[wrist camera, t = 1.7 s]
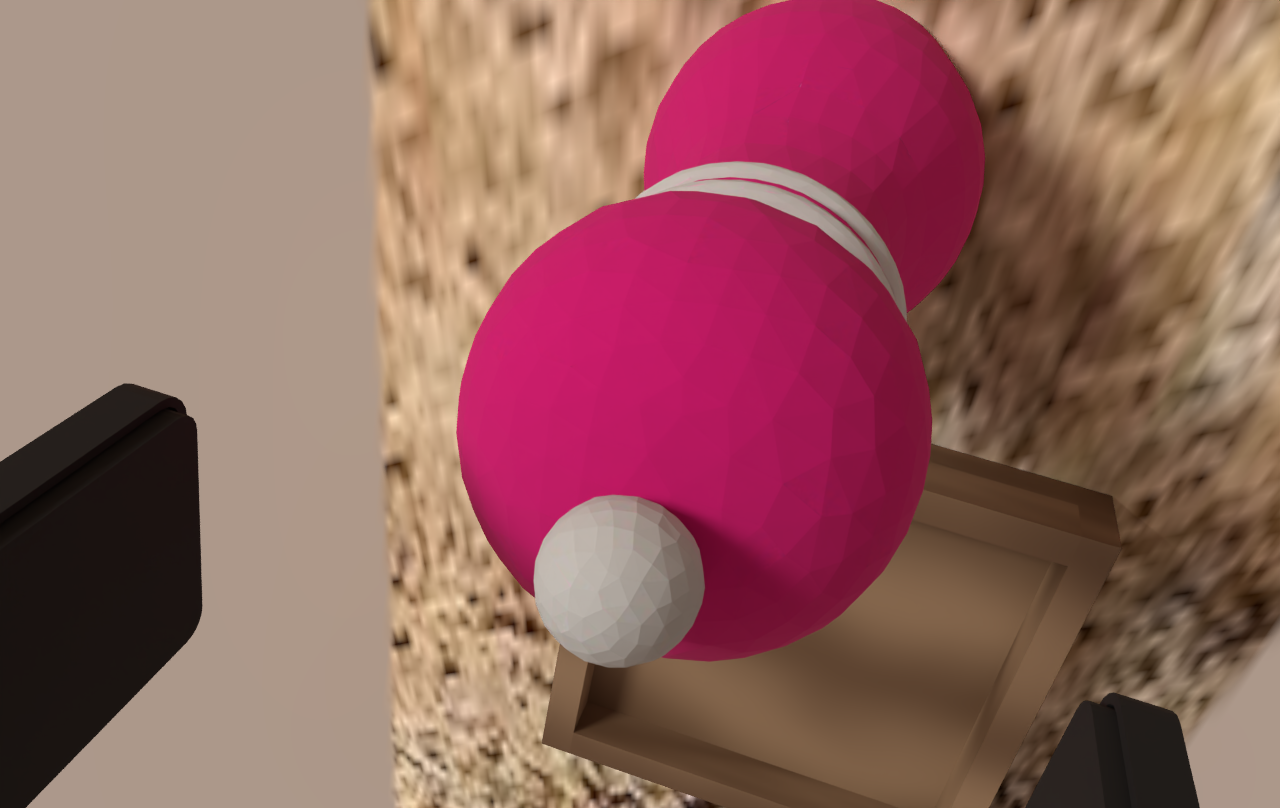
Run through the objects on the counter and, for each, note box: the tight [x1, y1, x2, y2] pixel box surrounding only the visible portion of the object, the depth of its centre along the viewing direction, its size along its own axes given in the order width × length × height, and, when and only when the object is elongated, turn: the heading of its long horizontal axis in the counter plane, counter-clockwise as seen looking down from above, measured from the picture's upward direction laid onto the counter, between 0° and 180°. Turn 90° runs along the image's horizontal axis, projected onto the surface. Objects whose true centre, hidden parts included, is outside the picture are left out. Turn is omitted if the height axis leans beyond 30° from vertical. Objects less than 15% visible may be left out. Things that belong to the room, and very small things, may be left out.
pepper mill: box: [456, 0, 985, 668], centre depth 19 cm, size 7×7×20 cm
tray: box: [542, 444, 1122, 808], centre depth 34 cm, size 14×14×2 cm
